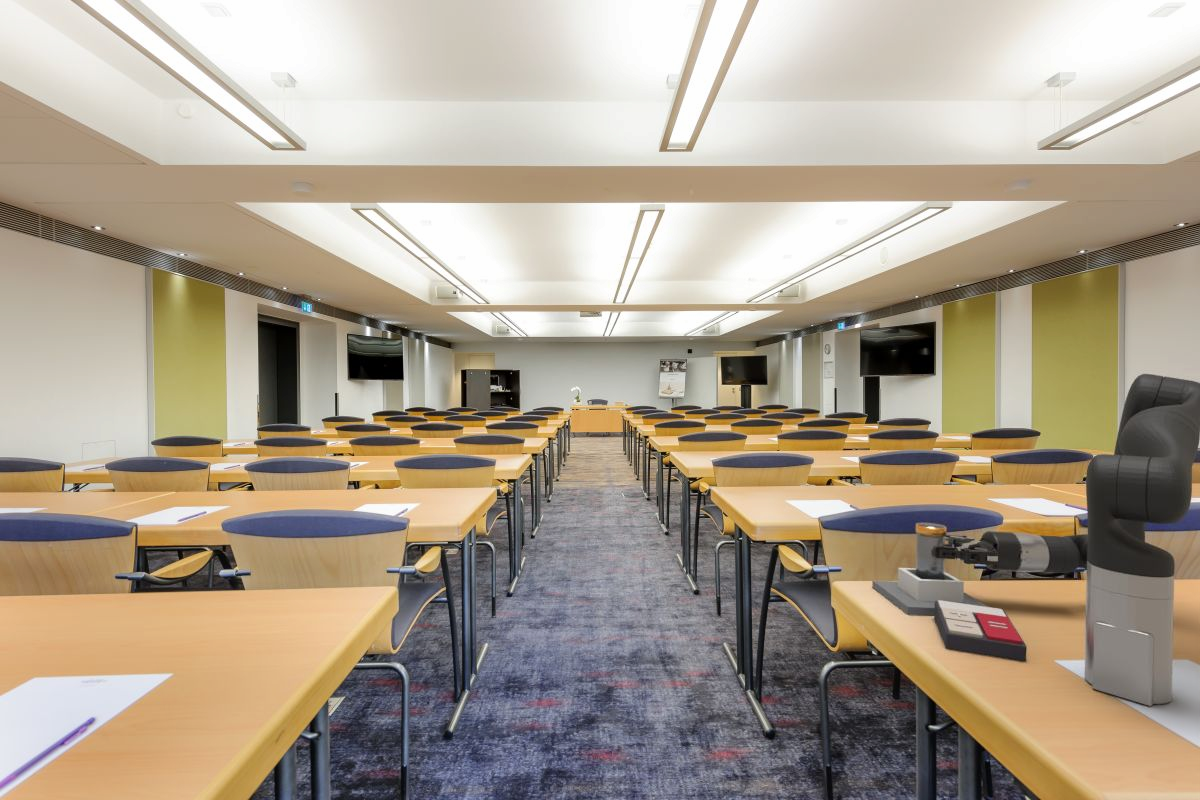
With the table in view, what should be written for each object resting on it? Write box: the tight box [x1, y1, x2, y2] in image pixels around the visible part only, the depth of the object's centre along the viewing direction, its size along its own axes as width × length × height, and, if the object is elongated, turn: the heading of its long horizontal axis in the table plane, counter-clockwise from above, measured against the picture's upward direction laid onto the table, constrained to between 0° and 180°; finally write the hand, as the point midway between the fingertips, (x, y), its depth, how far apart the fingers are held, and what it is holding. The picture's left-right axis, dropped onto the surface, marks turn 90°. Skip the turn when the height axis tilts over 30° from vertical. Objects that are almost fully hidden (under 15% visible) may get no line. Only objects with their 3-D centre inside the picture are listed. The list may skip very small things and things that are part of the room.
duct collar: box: [871, 567, 989, 617], centre depth 117 cm, size 16×16×6 cm
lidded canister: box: [915, 522, 947, 580], centre depth 117 cm, size 5×5×14 cm
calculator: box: [933, 600, 1027, 663], centre depth 100 cm, size 11×4×15 cm
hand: (925, 546), depth 118 cm, fingers open, 8 cm apart
